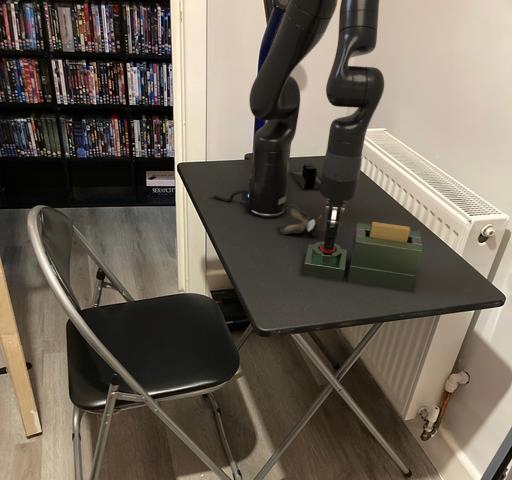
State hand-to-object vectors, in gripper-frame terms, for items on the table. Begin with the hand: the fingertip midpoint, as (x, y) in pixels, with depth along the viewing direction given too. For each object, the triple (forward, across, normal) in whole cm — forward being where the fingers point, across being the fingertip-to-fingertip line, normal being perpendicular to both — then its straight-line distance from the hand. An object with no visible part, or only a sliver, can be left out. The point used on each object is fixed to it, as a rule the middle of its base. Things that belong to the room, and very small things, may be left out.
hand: (328, 247), depth 127 cm
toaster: (+5, 0, +12) cm, 13 cm away
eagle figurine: (+5, -16, -8) cm, 18 cm away
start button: (+2, 0, 0) cm, 2 cm away
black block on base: (+5, -50, -9) cm, 51 cm away
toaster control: (+5, 0, 0) cm, 5 cm away
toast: (+1, 0, +12) cm, 12 cm away
